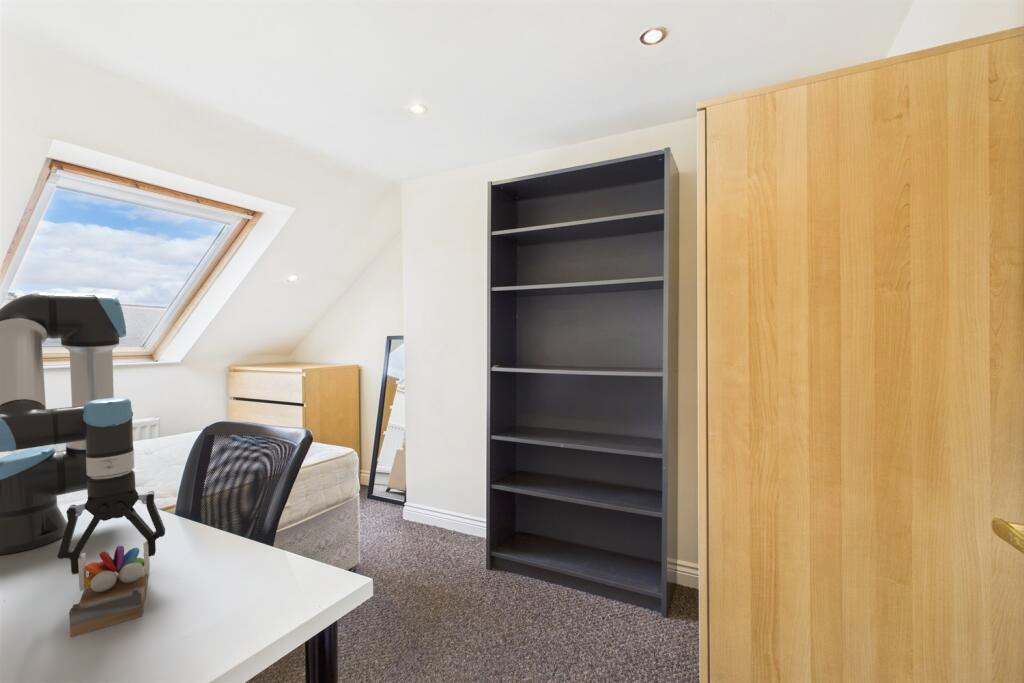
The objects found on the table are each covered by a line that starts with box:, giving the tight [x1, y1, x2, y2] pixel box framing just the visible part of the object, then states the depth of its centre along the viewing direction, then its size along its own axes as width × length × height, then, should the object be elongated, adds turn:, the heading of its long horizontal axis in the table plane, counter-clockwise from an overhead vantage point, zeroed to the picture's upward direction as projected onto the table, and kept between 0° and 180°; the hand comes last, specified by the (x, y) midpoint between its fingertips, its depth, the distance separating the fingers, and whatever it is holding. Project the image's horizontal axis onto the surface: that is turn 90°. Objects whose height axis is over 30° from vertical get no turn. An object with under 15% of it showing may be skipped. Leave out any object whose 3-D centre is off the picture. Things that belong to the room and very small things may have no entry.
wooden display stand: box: [68, 567, 150, 638], centre depth 93 cm, size 20×10×5 cm, turn 35°
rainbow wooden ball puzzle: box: [84, 545, 144, 592], centre depth 96 cm, size 8×10×7 cm
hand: (116, 578), depth 97 cm, fingers closed on rainbow wooden ball puzzle, 9 cm apart
